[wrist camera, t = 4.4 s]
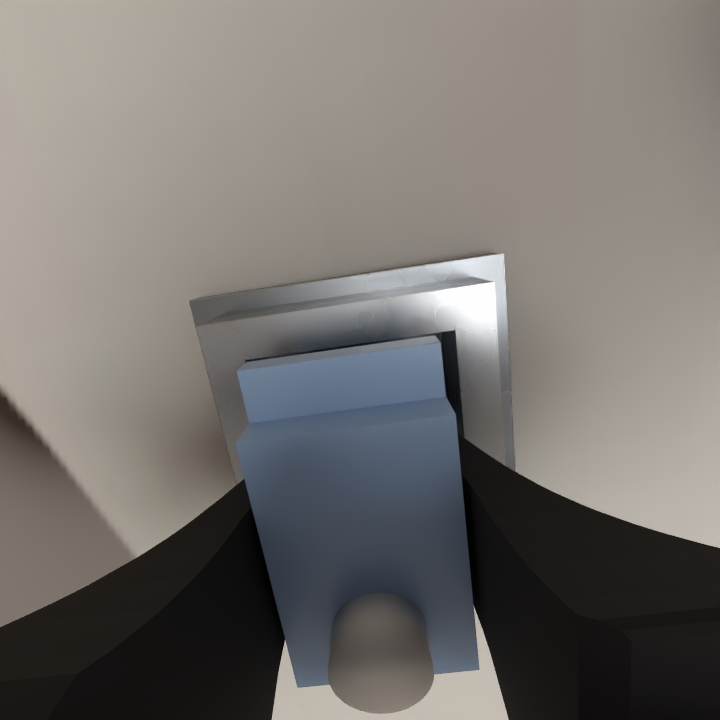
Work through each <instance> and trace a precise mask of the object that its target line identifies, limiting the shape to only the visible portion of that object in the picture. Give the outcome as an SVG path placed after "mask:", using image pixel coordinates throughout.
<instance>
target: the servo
mask: <svg viewBox="0 0 720 720" xmlns="http://www.w3.org/2000/svg"><path fill="white" fill-rule="evenodd" d="M237 375H238V379H239V383H240V388H241V392H242V396H243V400H244V404H245V408H246V412H247V417H248V421H249V424H248V426H247V427H246V429H245V430H244V432H243V433H242V435H241V436H240V438H239V439H238V441H237V442H236V448H237V452H238V456H239V460H240V464H241V467H242V471H243V475H244V479H245V483H246V487H247V491H248V495H249V499H250V503H251V507H252V511H253V515H254V518H255V522H256V526H257V530H258V534H259V538H260V542H261V546H262V550H263V554H264V558H265V562H266V565H267V569H268V573H269V577H270V581H271V585H272V589H273V593H274V597H275V601H276V605H277V609H278V613H279V616H280V620H281V624H282V628H283V632H284V636H285V640H286V644H287V648H288V652H289V656H290V660H291V663H292V667H293V671H294V675H295V679H296V683H297V687H298V688H299V687H310V686H320V685H330V686H331V688H332V690H333V691H334V693H335V694H336V695H337V696H338V697H339V698H340V699H341V700H342V701H343V702H344V703H346V704H348V705H349V706H351V707H353V708H355V709H358V710H361V711H365V712H369V713H380V714H382V713H393V712H398V711H401V710H404V709H407V708H409V707H411V706H413V705H415V704H416V703H418V702H419V701H420V700H421V699H422V698H423V697H424V696H425V695H426V694H427V693H428V691H429V690H430V688H431V686H432V683H433V679H434V674H442V673H452V672H462V671H472V670H479V660H478V649H477V638H476V628H475V617H474V606H473V595H472V585H471V574H470V563H469V552H468V541H467V531H466V520H465V509H464V498H463V488H462V477H461V466H460V455H459V445H458V434H457V423H456V414H455V412H454V411H453V409H452V407H451V405H450V403H449V401H448V400H447V398H446V392H445V382H444V372H443V362H442V351H441V342H440V341H439V340H438V339H437V337H436V336H435V335H434V336H427V337H420V338H413V339H406V340H399V341H392V342H385V343H378V344H371V345H364V346H356V347H349V348H342V349H335V350H328V351H321V352H314V353H307V354H300V355H293V356H286V357H279V358H272V359H265V360H258V361H251V362H246V363H245V364H244V365H243V366H242V367H241V368H240V369H239V370H238V371H237Z"/></svg>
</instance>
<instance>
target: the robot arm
mask: <svg viewBox="0 0 720 720" xmlns="http://www.w3.org/2000/svg"><path fill="white" fill-rule="evenodd" d="M458 445H459V455H460V466H461V477H462V488H463V498H464V509H465V520H466V531H467V541H468V552H469V563H470V574H471V585H472V595H473V605H474V607H475V610H476V613H477V615H478V618H479V621H480V623H481V626H482V629H483V632H484V635H485V638H486V641H487V644H488V647H489V650H490V653H491V657H492V660H493V664H494V667H495V671H496V675H497V678H498V682H499V685H500V689H501V693H502V696H503V700H504V703H505V707H506V711H507V715H508V718H509V720H720V548H717V547H713V546H709V545H705V544H701V543H697V542H694V541H690V540H686V539H683V538H679V537H675V536H672V535H668V534H665V533H661V532H658V531H655V530H651V529H648V528H645V527H642V526H638V525H635V524H632V523H630V522H627V521H624V520H621V519H618V518H615V517H613V516H610V515H607V514H604V513H601V512H599V511H596V510H594V509H591V508H589V507H586V506H584V505H581V504H579V503H576V502H574V501H572V500H570V499H568V498H565V497H563V496H561V495H559V494H556V493H554V492H552V491H550V490H548V489H546V488H544V487H542V486H540V485H538V484H536V483H534V482H533V481H531V480H529V479H527V478H525V477H524V476H522V475H520V474H518V473H517V472H515V471H513V470H512V469H510V468H508V467H507V466H505V465H503V464H502V463H500V462H499V461H497V460H496V459H494V458H492V457H491V456H489V455H488V454H487V453H485V452H484V451H482V450H481V449H479V448H478V447H476V446H475V445H474V444H472V443H471V442H469V441H468V440H467V439H465V438H464V437H462V436H461V435H459V434H458ZM284 642H285V636H284V632H283V628H282V624H281V620H280V616H279V613H278V609H277V605H276V601H275V597H274V593H273V589H272V585H271V581H270V577H269V573H268V569H267V565H266V562H265V558H264V554H263V550H262V546H261V542H260V538H259V534H258V530H257V526H256V522H255V518H254V515H253V511H252V507H251V503H250V499H249V495H248V491H247V487H246V483H245V479H243V480H242V481H241V482H240V483H239V484H237V485H236V486H235V487H234V488H233V489H231V490H230V491H229V492H228V493H227V494H225V495H224V496H223V497H222V498H221V499H219V500H218V501H217V502H216V503H214V504H213V505H212V506H210V507H209V508H208V509H207V510H205V511H204V512H203V513H201V514H200V515H199V516H197V517H196V518H195V519H194V520H192V521H191V522H190V523H188V524H187V525H186V526H184V527H183V528H182V529H180V530H179V531H177V532H176V533H174V534H173V535H171V536H170V537H169V538H167V539H166V540H164V541H162V542H161V543H159V544H158V545H156V546H155V547H153V548H152V549H150V550H149V551H147V552H145V553H144V554H142V555H141V556H139V557H137V558H136V559H134V560H132V561H130V562H129V563H127V564H125V565H123V566H121V567H120V568H118V569H116V570H114V571H113V572H111V573H109V574H107V575H106V576H104V577H102V578H100V579H99V580H97V581H95V582H93V583H91V584H90V585H88V586H86V587H84V588H82V589H80V590H78V591H76V592H74V593H72V594H70V595H68V596H66V597H64V598H62V599H60V600H58V601H56V602H54V603H52V604H50V605H48V606H46V607H43V608H41V609H39V610H37V611H35V612H33V613H31V614H29V615H26V616H24V617H22V618H20V619H18V620H16V621H13V622H11V623H9V624H7V625H4V626H2V627H0V720H271V719H272V712H273V705H274V698H275V691H276V684H277V677H278V671H279V666H280V661H281V656H282V651H283V646H284Z"/></svg>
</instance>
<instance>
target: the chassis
mask: <svg viewBox="0 0 720 720" xmlns="http://www.w3.org/2000/svg"><path fill="white" fill-rule="evenodd" d="M189 302H190V306H191V310H192V314H193V317H194V321H195V325H196V326H195V327H196V331H197V334H198V338H199V342H200V346H201V350H202V353H203V357H204V361H205V365H206V369H207V373H208V376H209V380H210V384H211V388H212V392H213V396H214V399H215V403H216V407H217V411H218V415H219V418H220V422H221V426H222V430H223V434H224V438H225V441H226V445H227V449H228V453H229V457H230V460H231V464H232V468H233V472H234V476H235V480H236V483H237V484H239V483H240V482H241V481H242V480H243V479H244V475H243V471H242V467H241V464H240V460H239V456H238V452H237V448H236V442H237V441H238V439H239V438H240V436H241V435H242V433H243V432H244V430H245V429H246V427H247V426H248V424H249V421H248V417H247V412H246V408H245V404H244V400H243V396H242V392H241V388H240V383H239V379H238V375H237V371H238V370H239V369H240V368H241V367H242V366H243V365H244V364H245V363H246V362H251V361H258V360H265V359H272V358H279V357H286V356H293V355H300V354H307V353H314V352H321V351H328V350H335V349H342V348H349V347H356V346H364V345H371V344H378V343H385V342H392V341H399V340H406V339H413V338H420V337H427V336H434V335H435V336H436V337H437V339H438V340H439V341H440V342H441V351H442V362H443V372H444V382H445V392H446V398H447V400H448V401H449V403H450V405H451V407H452V409H453V411H454V412H455V414H456V423H457V434H459V435H461V436H462V437H464V438H465V439H467V440H468V441H469V442H471V443H472V444H474V445H475V446H476V447H478V448H479V449H481V450H482V451H484V452H485V453H487V454H488V455H489V456H491V457H492V458H494V459H496V460H497V461H499V462H500V463H502V464H503V465H505V466H507V467H508V468H510V469H512V470H513V471H515V456H514V437H513V418H512V399H511V380H510V361H509V342H508V323H507V304H506V285H505V266H504V253H492V254H486V255H479V256H472V257H466V258H459V259H453V260H446V261H439V262H433V263H426V264H420V265H413V266H407V267H400V268H393V269H387V270H380V271H374V272H367V273H360V274H354V275H347V276H341V277H334V278H328V279H321V280H314V281H308V282H301V283H295V284H288V285H281V286H275V287H268V288H262V289H255V290H249V291H242V292H235V293H229V294H222V295H216V296H209V297H202V298H198V299H195V300H191V301H189Z"/></svg>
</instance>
